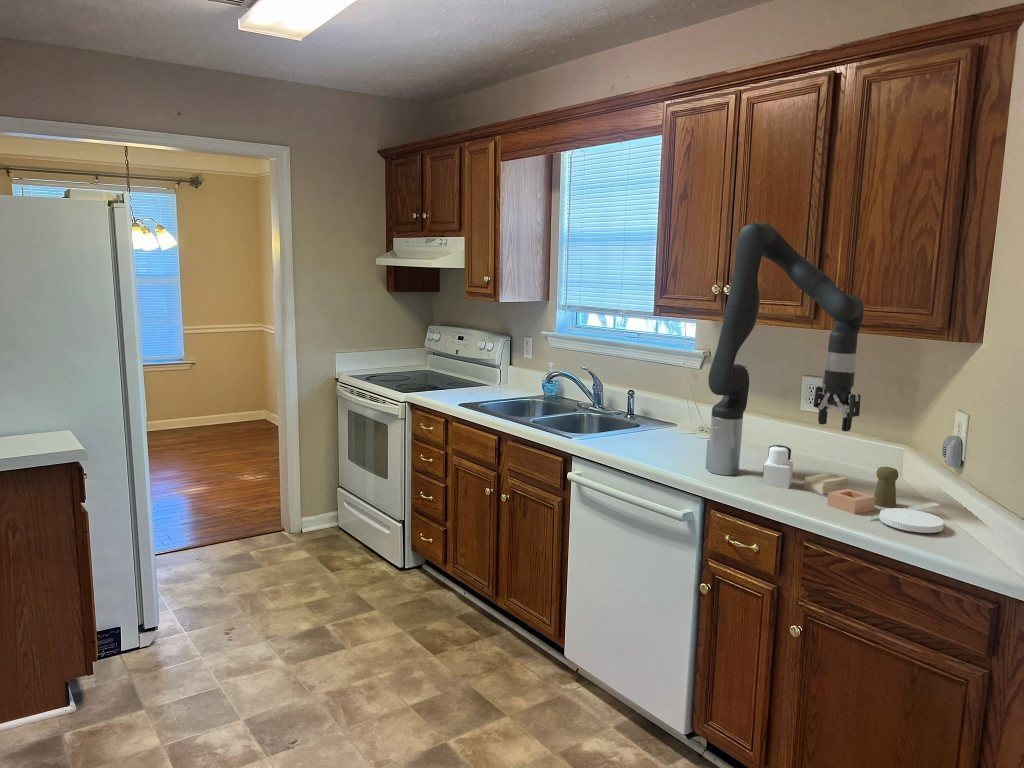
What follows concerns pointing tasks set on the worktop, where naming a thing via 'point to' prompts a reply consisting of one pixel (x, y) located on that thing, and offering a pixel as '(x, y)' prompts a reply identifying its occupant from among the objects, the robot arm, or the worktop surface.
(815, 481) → the cream wooden block
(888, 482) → the cork
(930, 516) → the plastic lid
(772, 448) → the medicine bottle
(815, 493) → the mat
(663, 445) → the worktop surface
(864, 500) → the pink hollow block
